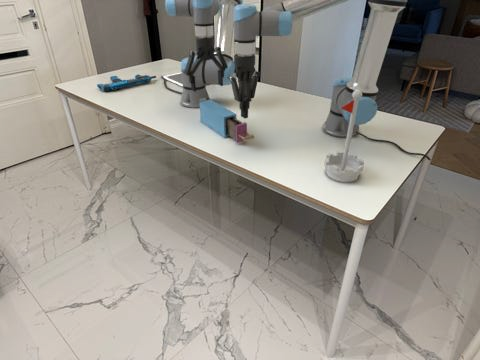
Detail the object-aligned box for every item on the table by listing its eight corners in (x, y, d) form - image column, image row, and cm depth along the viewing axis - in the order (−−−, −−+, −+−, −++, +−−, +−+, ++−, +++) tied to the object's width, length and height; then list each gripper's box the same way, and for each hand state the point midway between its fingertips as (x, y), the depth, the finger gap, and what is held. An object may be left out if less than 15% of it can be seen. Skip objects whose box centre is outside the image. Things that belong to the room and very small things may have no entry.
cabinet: (236, 134, 147) (236, 114, 142) (224, 137, 144) (223, 117, 139) (211, 118, 162) (211, 99, 157) (200, 121, 159) (199, 102, 154)
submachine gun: (141, 69, 223) (160, 75, 207) (142, 74, 225) (161, 81, 209) (89, 79, 205) (105, 87, 188) (91, 85, 207) (107, 93, 190)
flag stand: (346, 161, 127) (361, 81, 110) (369, 179, 117) (390, 94, 100) (316, 168, 123) (327, 86, 106) (337, 186, 113) (353, 99, 96)
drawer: (254, 145, 137) (254, 128, 132) (244, 148, 134) (244, 131, 130) (221, 123, 154) (221, 108, 150) (212, 126, 152) (211, 110, 148)
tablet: (160, 77, 217) (160, 76, 217) (187, 71, 229) (187, 71, 228) (188, 89, 197) (188, 88, 197) (215, 82, 208) (215, 81, 208)
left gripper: (225, 31, 146) (226, 80, 158) (172, 38, 135) (178, 90, 146) (235, 34, 141) (235, 85, 153) (180, 41, 129) (185, 95, 141)
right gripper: (253, 49, 125) (252, 110, 138) (223, 54, 119) (225, 117, 131) (266, 53, 119) (263, 116, 132) (235, 58, 113) (235, 124, 126)
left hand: (207, 87), depth 150 cm, fingers open, 13 cm apart
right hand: (244, 117), depth 132 cm, fingers closed
